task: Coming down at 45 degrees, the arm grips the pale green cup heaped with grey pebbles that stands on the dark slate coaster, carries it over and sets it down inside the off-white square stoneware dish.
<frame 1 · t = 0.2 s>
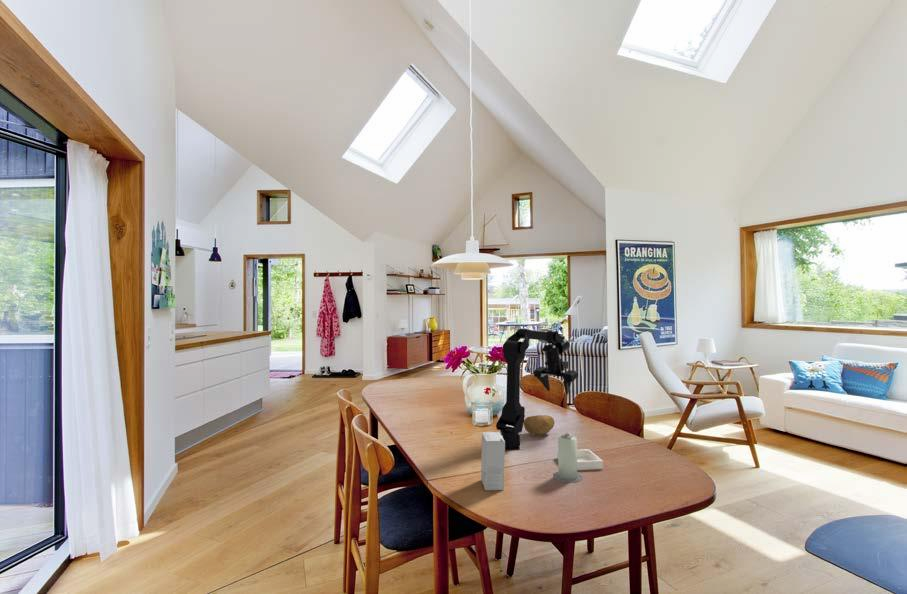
hand: (558, 392, 192), 15 cm above the table, tool pointing down, fingers open, 9 cm apart
potato: (539, 435, 183), on the table
pebble cup: (567, 476, 138), point 1 cm above the table, touching slate coaster
stoneware dish: (579, 465, 149), on the table
skincare box: (492, 485, 133), on the table
slate coaster: (567, 478, 138), on the table
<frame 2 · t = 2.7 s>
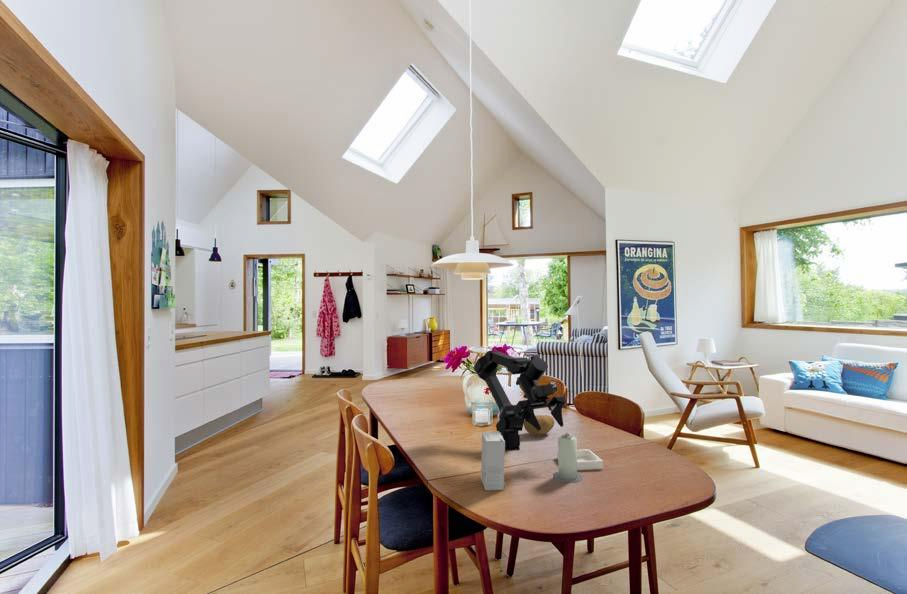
hand: (551, 428, 145), 14 cm above the table, tool tilted 45°, fingers open, 9 cm apart
nothing on the table moved.
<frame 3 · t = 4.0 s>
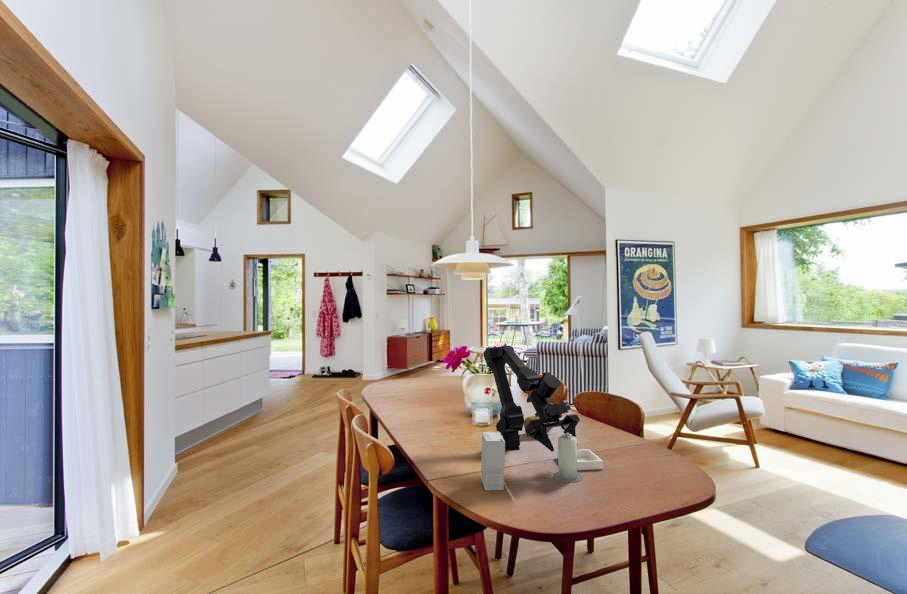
hand: (565, 448, 139), 9 cm above the table, tool tilted 45°, fingers open, 9 cm apart
nothing on the table moved.
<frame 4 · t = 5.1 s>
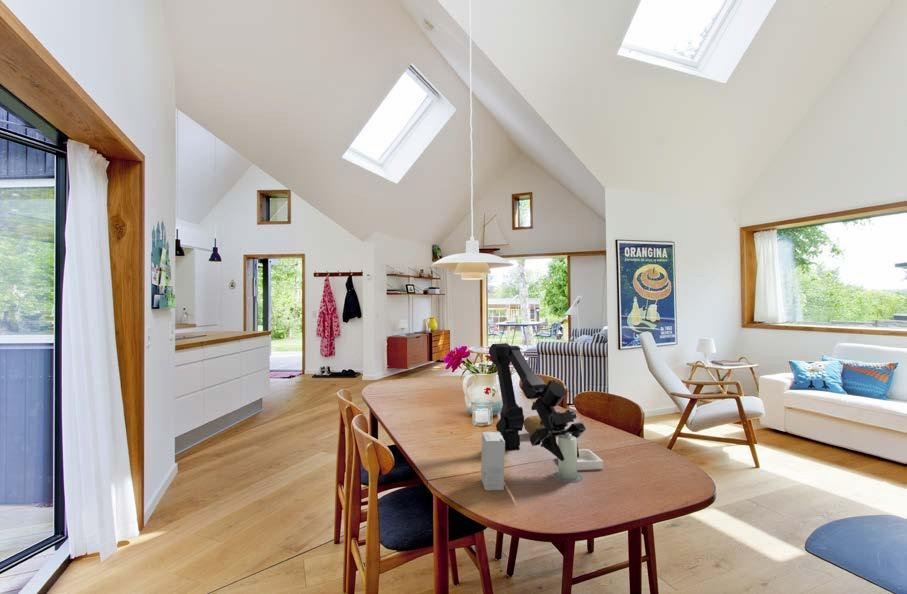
hand: (570, 458, 137), 7 cm above the table, tool tilted 45°, fingers closed on pebble cup, 6 cm apart
pebble cup: (567, 476, 138), point 1 cm above the table, touching gripper, slate coaster
everything else where it was.
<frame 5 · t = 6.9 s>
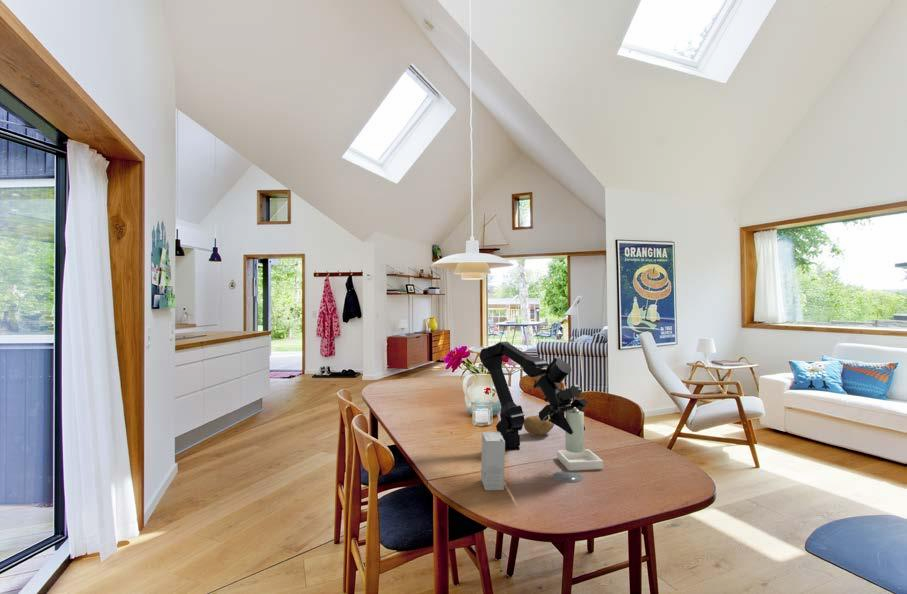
hand: (578, 432, 142), 13 cm above the table, tool tilted 45°, fingers closed on pebble cup, 6 cm apart
pebble cup: (574, 449, 143), point 7 cm above the table, touching gripper
everything else where it was.
when the fingers open (8 cm above the table, at t = 8.9 s): pebble cup drops 1 cm, resting on stoneware dish.
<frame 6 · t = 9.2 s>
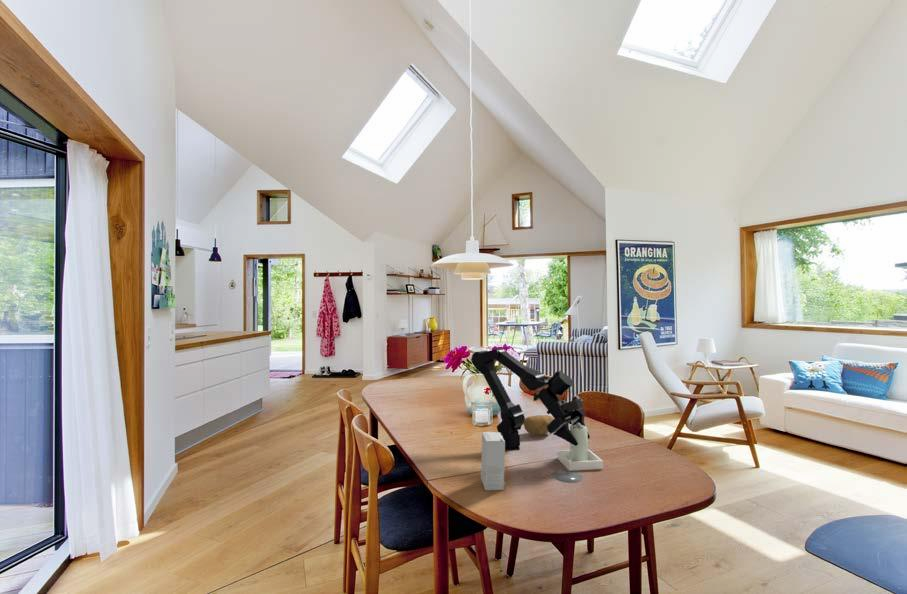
hand: (583, 441, 148), 8 cm above the table, tool tilted 45°, fingers open, 9 cm apart
pebble cup: (579, 463, 149), point 1 cm above the table, touching stoneware dish
everything else where it was.
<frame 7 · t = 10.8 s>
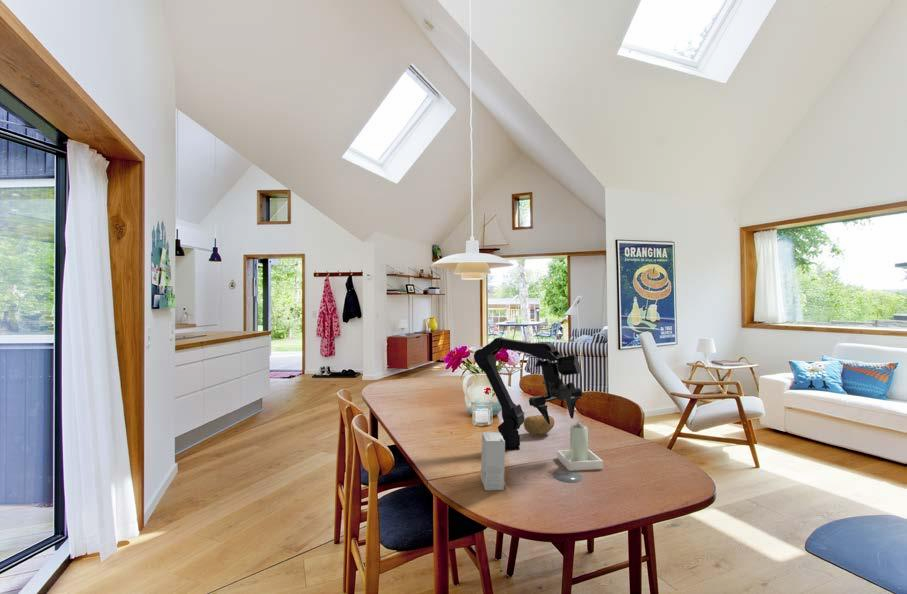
hand: (560, 421, 158), 12 cm above the table, tool pointing down, fingers open, 9 cm apart
nothing on the table moved.
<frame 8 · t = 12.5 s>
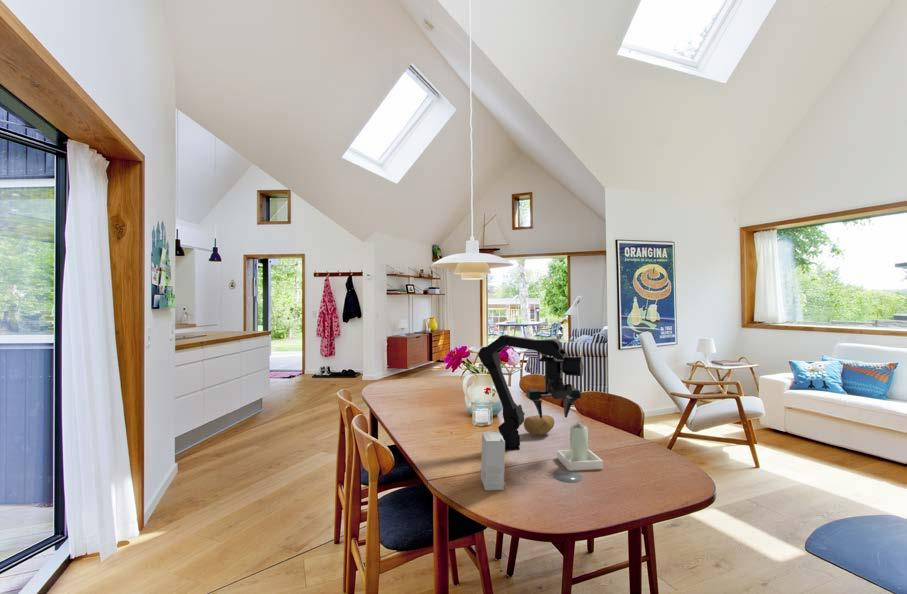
hand: (553, 417, 160), 13 cm above the table, tool pointing down, fingers open, 9 cm apart
nothing on the table moved.
at the end: pebble cup inside the target area on the stoneware dish (0.1 cm from its centre), point 0.6 cm above the stoneware dish's base; pebble cup tilted 0°; the gripper is holding nothing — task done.
